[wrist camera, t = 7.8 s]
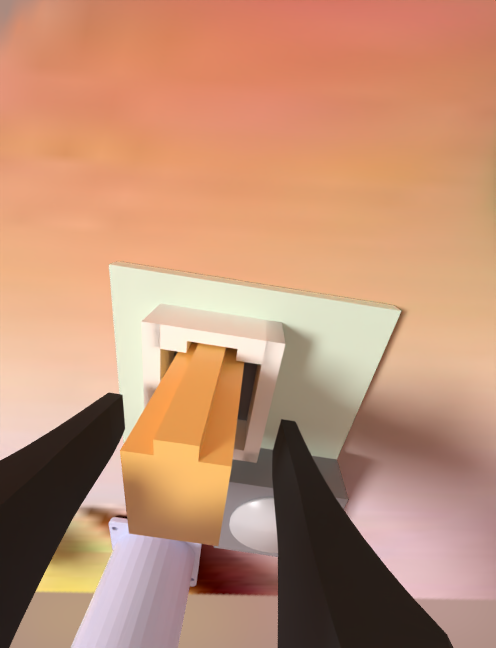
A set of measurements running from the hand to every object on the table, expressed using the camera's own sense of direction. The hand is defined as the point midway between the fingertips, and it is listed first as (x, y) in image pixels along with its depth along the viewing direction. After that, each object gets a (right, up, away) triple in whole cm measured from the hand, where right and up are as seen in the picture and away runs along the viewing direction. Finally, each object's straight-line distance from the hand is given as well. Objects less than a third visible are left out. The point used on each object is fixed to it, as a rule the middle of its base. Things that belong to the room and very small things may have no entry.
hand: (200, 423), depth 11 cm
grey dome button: (+4, -7, +7) cm, 11 cm away
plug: (0, +2, +3) cm, 3 cm away
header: (0, +2, +4) cm, 4 cm away
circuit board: (+1, -2, +5) cm, 6 cm away
